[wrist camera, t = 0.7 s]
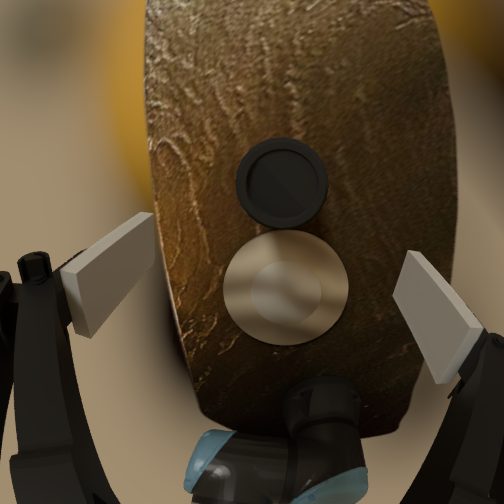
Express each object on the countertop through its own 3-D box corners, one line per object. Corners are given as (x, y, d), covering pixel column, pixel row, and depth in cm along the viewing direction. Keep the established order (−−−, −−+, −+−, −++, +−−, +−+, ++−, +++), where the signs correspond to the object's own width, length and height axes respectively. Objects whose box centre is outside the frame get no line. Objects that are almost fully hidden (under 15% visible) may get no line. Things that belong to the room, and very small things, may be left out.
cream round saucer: (330, 345, 45) (332, 351, 43) (221, 331, 46) (219, 336, 44) (358, 239, 39) (361, 242, 38) (231, 220, 40) (228, 223, 39)
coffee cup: (279, 219, 40) (278, 253, 25) (237, 174, 38) (211, 182, 24) (325, 178, 37) (352, 190, 23) (282, 132, 36) (284, 114, 22)
